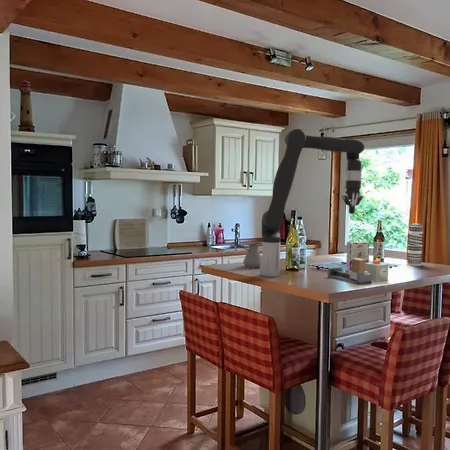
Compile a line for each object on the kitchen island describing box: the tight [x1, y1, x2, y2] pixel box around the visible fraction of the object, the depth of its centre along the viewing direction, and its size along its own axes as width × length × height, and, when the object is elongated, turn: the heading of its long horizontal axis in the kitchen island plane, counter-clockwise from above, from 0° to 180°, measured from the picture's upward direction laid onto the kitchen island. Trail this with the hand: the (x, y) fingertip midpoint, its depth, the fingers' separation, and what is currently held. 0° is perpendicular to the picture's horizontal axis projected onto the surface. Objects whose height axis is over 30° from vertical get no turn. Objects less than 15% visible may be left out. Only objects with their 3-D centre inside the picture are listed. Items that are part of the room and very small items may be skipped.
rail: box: [327, 266, 373, 286], centre depth 233 cm, size 8×22×5 cm, turn 29°
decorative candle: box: [406, 223, 425, 267], centre depth 287 cm, size 9×9×25 cm
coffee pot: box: [230, 241, 262, 269], centre depth 263 cm, size 21×12×15 cm, turn 127°
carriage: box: [347, 258, 368, 280], centre depth 228 cm, size 7×6×10 cm
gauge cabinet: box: [365, 261, 389, 282], centre depth 236 cm, size 8×9×8 cm
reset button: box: [372, 259, 381, 264], centre depth 236 cm, size 3×3×4 cm
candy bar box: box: [345, 241, 370, 273], centre depth 257 cm, size 11×5×16 cm, turn 101°
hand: (351, 213), depth 243 cm, fingers closed
